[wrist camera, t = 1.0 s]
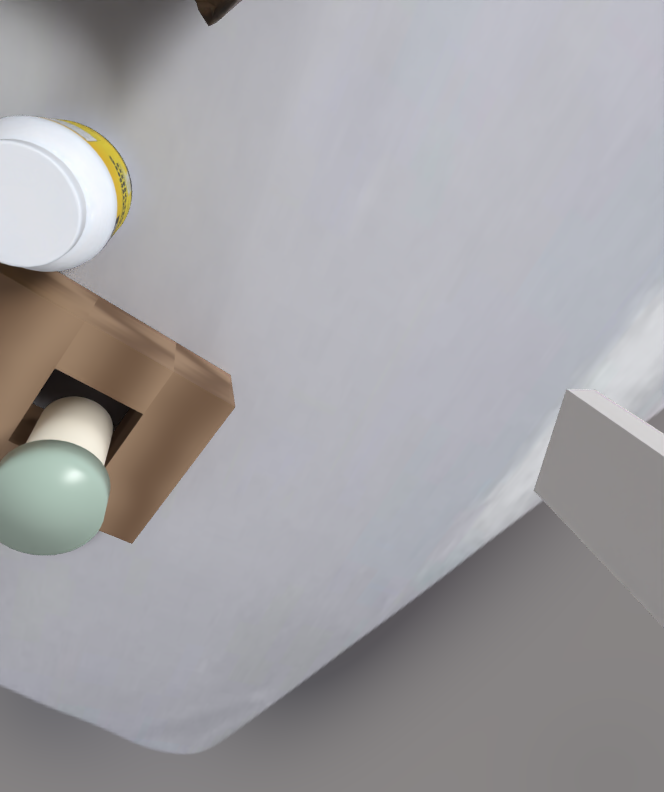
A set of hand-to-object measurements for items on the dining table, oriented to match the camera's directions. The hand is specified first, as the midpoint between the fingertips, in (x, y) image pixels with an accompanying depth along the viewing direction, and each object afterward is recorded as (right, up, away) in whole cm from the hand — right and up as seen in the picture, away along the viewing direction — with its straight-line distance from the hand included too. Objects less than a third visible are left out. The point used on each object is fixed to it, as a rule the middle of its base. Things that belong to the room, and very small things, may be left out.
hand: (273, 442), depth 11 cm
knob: (-14, -1, +21) cm, 25 cm away
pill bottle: (-14, +13, +20) cm, 28 cm away
